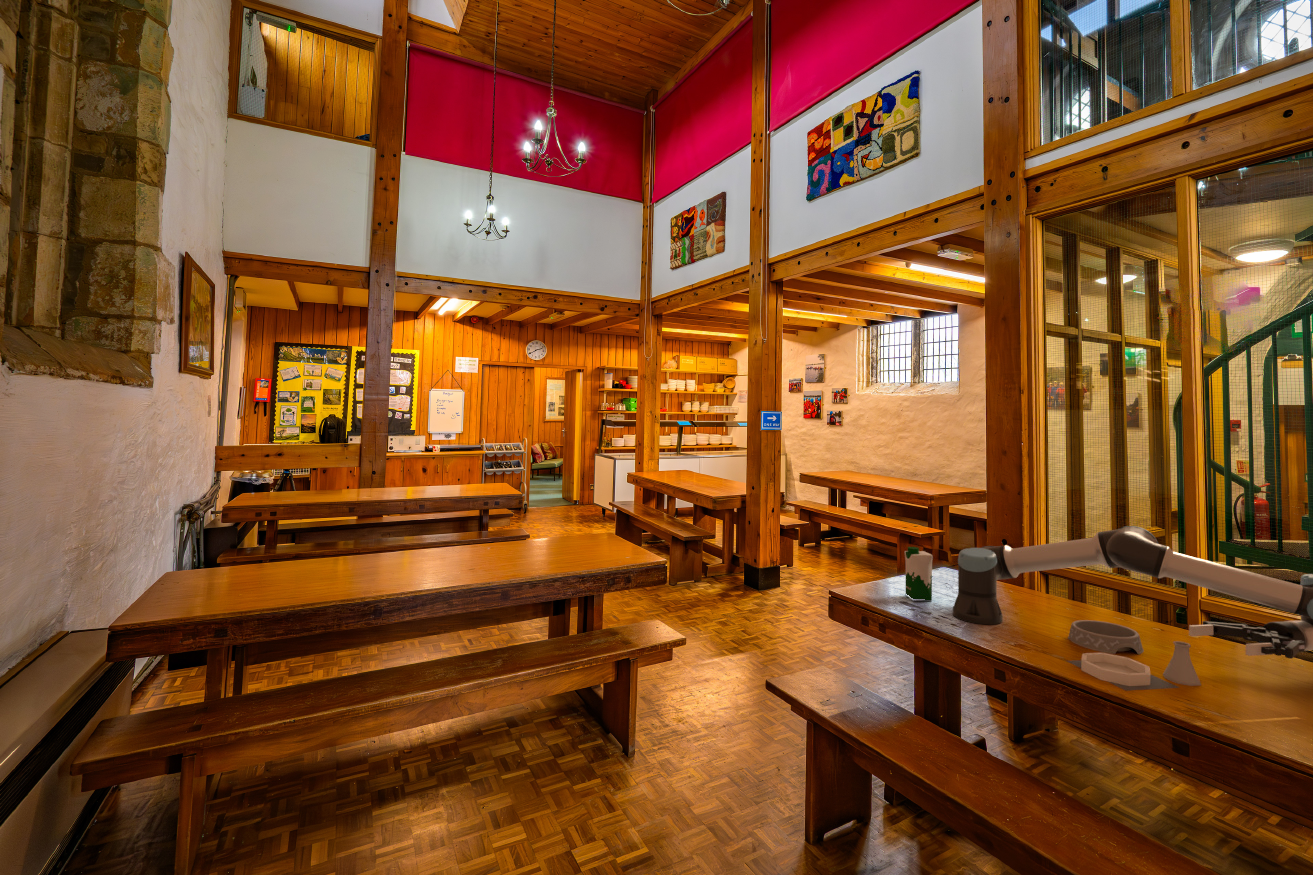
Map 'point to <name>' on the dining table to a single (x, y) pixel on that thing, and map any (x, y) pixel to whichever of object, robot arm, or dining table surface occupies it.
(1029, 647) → the dining table surface
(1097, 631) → the dog bowl
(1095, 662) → the bowl
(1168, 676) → the flask
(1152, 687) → the mat
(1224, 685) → the dining table surface
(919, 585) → the milk carton
